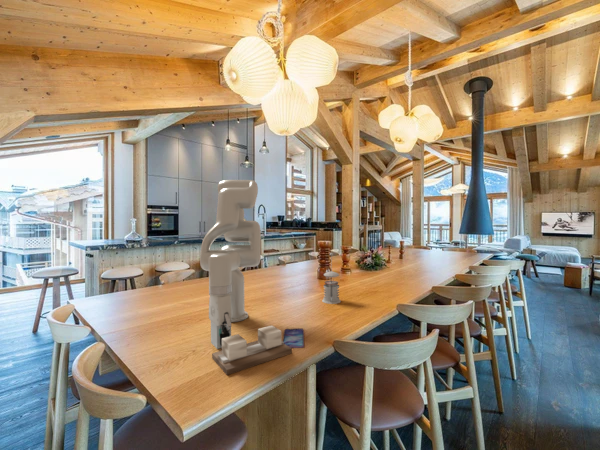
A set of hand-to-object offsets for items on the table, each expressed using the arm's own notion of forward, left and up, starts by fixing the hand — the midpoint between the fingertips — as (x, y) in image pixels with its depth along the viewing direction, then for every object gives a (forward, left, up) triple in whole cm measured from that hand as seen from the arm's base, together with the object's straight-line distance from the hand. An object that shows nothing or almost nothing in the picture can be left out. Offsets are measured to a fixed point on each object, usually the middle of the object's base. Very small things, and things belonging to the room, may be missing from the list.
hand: (221, 340), depth 102 cm
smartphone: (+11, +23, -2) cm, 26 cm away
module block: (0, 0, -1) cm, 1 cm away
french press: (-14, +64, -2) cm, 66 cm away
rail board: (+14, +5, -1) cm, 15 cm away
